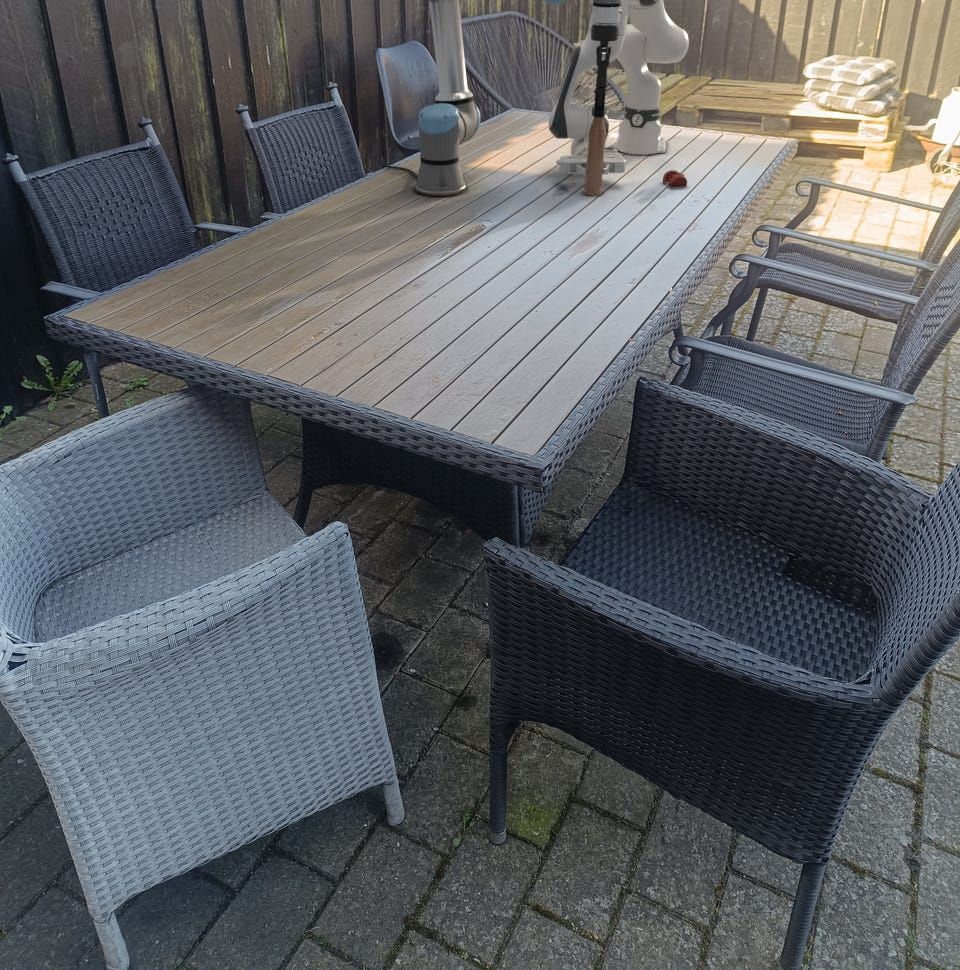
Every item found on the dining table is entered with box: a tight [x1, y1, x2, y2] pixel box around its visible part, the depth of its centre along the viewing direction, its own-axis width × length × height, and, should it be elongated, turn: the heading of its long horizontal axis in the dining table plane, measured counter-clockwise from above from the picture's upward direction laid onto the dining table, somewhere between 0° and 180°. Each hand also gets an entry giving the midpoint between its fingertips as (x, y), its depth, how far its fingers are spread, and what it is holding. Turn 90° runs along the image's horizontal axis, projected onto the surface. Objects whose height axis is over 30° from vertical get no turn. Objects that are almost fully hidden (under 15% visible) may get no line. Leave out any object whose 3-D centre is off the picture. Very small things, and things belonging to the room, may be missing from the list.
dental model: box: [662, 169, 688, 188], centre depth 261 cm, size 6×4×8 cm
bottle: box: [583, 117, 607, 197], centre depth 249 cm, size 5×5×24 cm
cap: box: [591, 104, 607, 116], centre depth 242 cm, size 4×4×2 cm
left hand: (598, 114), depth 243 cm, fingers open, 6 cm apart
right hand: (594, 171), depth 251 cm, fingers closed on bottle, 5 cm apart
